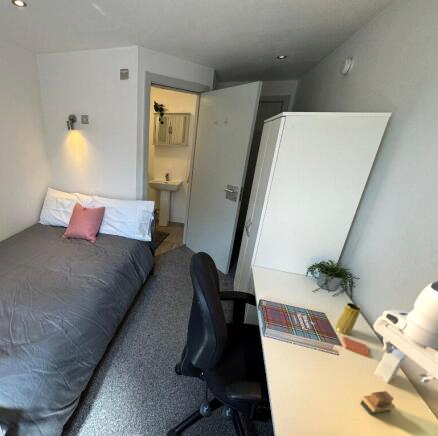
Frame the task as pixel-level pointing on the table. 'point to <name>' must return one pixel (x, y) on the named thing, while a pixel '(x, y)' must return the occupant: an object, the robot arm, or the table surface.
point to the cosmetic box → (390, 365)
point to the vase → (348, 318)
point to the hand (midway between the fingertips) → (403, 365)
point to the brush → (378, 402)
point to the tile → (356, 346)
